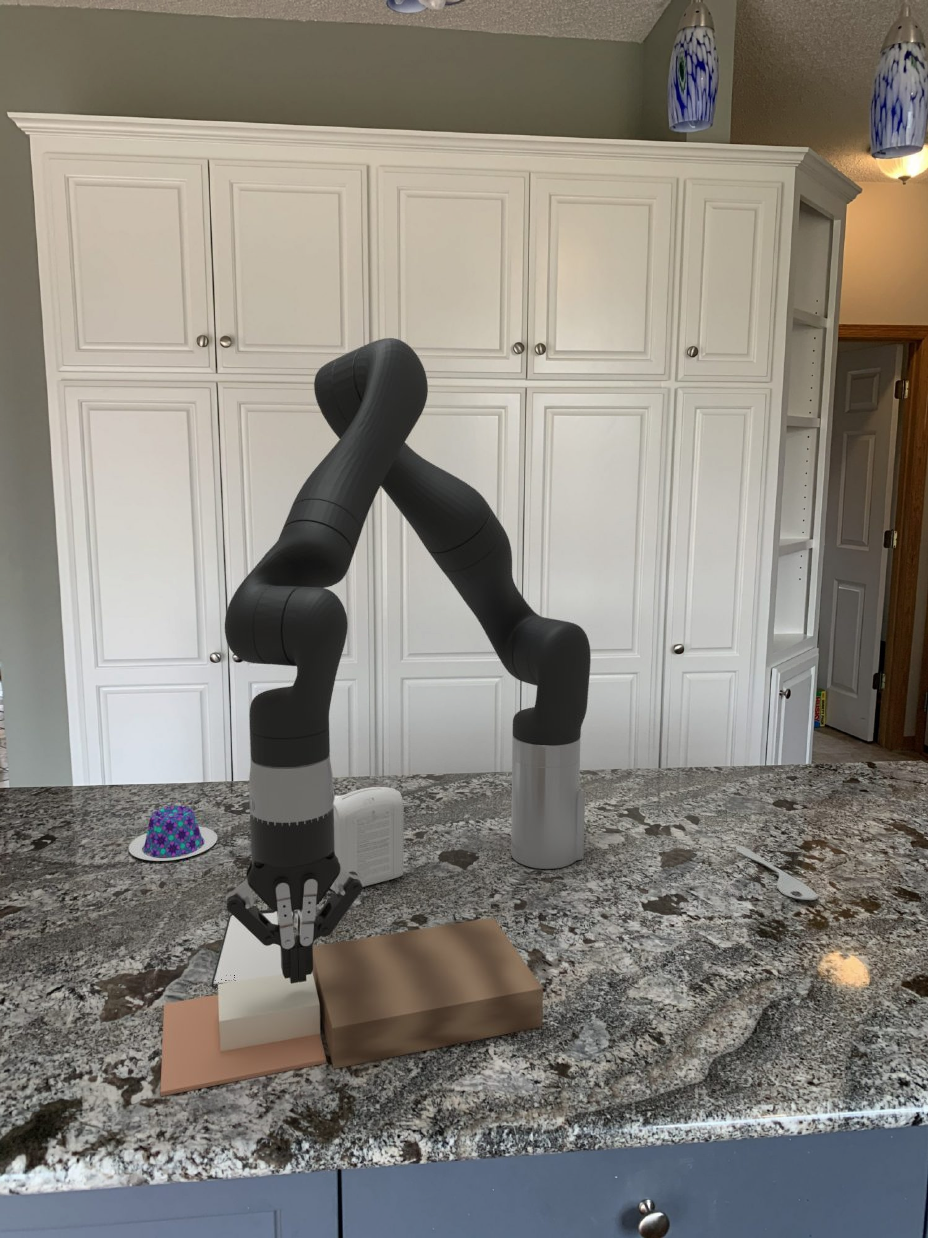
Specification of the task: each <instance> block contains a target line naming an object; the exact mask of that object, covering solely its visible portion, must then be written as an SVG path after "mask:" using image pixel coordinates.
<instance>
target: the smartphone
mask: <svg viewBox="0 0 928 1238" xmlns="http://www.w3.org/2000/svg"><path fill="white" fill-rule="evenodd" d="M258 910H259V911H260V912H261V913H262V914H263V915H264V916H265V917H266V918H267V919H268V920H269V921H270V922H271V923H272V924H277V925H278V920H277V912H276V911H273V910H271V909H258ZM292 918H293V927H294V924H295V918H296V910H294V911H292ZM223 934H224V935H223V938H222V941H221V945H220V949H219V953H218V957H217V960H216V964H215V969H214V971H213V976H212V978H211V983H212V984H210V987H211V988H212V989H214V990H216V991H218V986H216V985H215V984H223V983H230V982H236V981H242V980H249V979H255V978H261V977H268V976H274V975H280V974H283V973H282V968H281V949H280V946H279V945H277V944H272V945H270V946H265V945H264V944H262V943H261V942H260V941H259V940H258V939H257V938H256V937H255V936H254V935H253V934H252V933H251V932H250V931H249V930H248V929H247V928H246V927H245V926H244V925H243V924H242V923H241V922H240V921H239V920H238V919H237V918H235V917H234V916H233V915H232V914H231V913H230V915H228V918H227V922H226V926H225V930H224V933H223ZM226 975H227V976H226ZM230 975H231V976H230ZM234 975H235V976H234ZM234 977H235V978H234ZM221 979H222V980H221ZM233 979H234V980H236V981H234V980H233ZM215 980H216V981H215ZM225 980H227V981H225ZM228 980H230V981H228ZM231 980H232V981H231ZM218 982H219V983H218ZM216 988H217V989H216Z"/></svg>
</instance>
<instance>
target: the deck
mask: <svg viewBox="0 0 928 1238" xmlns="http://www.w3.org/2000/svg"><path fill="white" fill-rule="evenodd" d="M312 973H313V977H314V982H315V986H316V991H317V995H318V1000H319V1004H320V1022H321V1025H322V1028H323V1031H324V1037H325V1040H326V1044H327V1048H328V1052H329V1057H330V1061H331V1064H332V1068H333V1070H336V1069H341V1068H346V1067H350V1066H357V1065H360V1064H365V1063H370V1062H376V1061H380V1060H386V1059H390V1058H395V1057H399V1056H404V1055H409V1054H415V1053H419V1052H424V1051H430V1050H434V1049H440V1048H444V1047H448V1046H449V1047H450V1046H453V1045H458V1044H459V1045H460V1044H464V1043H468V1042H473V1041H477V1040H484V1039H488V1038H493V1037H498V1036H502V1035H503V1036H504V1035H507V1034H513V1033H517V1032H522V1031H528V1030H533V1029H536V1028H537V1029H538V1028H543V1017H544V1016H543V1012H544V1011H543V1007H544V1005H543V1004H544V1002H543V1001H544V988H543V986H542V985H541V984H540V982H539V980H538V979H537V977H536V976H535V975H534V972H532V970H531V969H530V968H529V966H528V965H527V963H526V961H524V959H523V958H522V956H521V955H520V953H519V951H518V950H517V949H516V948H515V946H514V944H513V943H512V941H510V939H509V937H508V936H507V934H506V933H505V932H504V930H503V929H502V927H501V926H500V924H499V923H498V921H497V920H496V919H495V918H494V917H489V918H488V917H487V918H481V919H475V920H468V921H462V922H456V923H451V924H450V923H449V924H443V925H438V926H431V927H423V928H418V929H412V930H407V931H406V930H405V931H399V932H395V933H393V932H392V933H388V934H381V935H375V936H368V937H361V938H357V939H350V940H343V941H337V942H336V941H335V942H332V943H325V944H319V945H313V971H312Z"/></svg>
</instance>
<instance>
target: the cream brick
mask: <svg viewBox="0 0 928 1238" xmlns="http://www.w3.org/2000/svg"><path fill="white" fill-rule="evenodd" d="M217 987H218V990H217V992H218V993H217V995H218V1002H219V1030H220V1051H226V1050H232V1049H237V1048H243V1047H249V1046H254V1045H260V1044H265V1043H271V1042H277V1041H282V1040H288V1039H293V1038H299V1037H305V1036H310V1035H316V1034H320V1035H321V1017H320V1004H319V1000H318V995H317V991H316V986H315V982H314V977H313V973H311V974H309V975H306V981H304V982H298V983H292V984H291V983H290V978H284V976H283V974H280V975H274V976H268V977H261V978H255V979H249V980H242V981H236V982H224V983H217Z"/></svg>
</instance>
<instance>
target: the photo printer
mask: <svg viewBox="0 0 928 1238" xmlns="http://www.w3.org/2000/svg"><path fill="white" fill-rule="evenodd" d="M340 796H341V797H339V798H337V799H335V800H334V847H335V855H336V857H337V858H338V861H339V863H340V867H341V868H342V869H344V870H345V871H347V872H351V871H353V872H356V873H357V875H358V877H359V879H360V882H361V884H362V887H363V888H364V887H367V886H368V887H369V886H370V885H371V886H372V885H375V884H378V883H381V882H383V883H384V882H386V881H390V880H393V879H396V878H397V879H398V878H399V877H402V876H403V875H404V866H405V865H404V860H405V858H404V852H405V851H404V848H405V847H404V846H405V845H404V842H405V841H404V840H405V838H404V837H405V836H404V826H405V825H404V822H405V821H404V820H405V819H404V811H405V810H404V800H403V797H402V794H401V792H400V791H399V790H396V788H392V787H389V786H387V787H386V786H374V787H373V786H372V787H366V788H360V789H356V790H354V791H350V792H348V793H345V794H343V795H340ZM335 881H336V880H335ZM335 881H334V883H335ZM334 883H333V884H332V886H331V887H330V890H332V891H333V892H334V891H335V889H334Z"/></svg>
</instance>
